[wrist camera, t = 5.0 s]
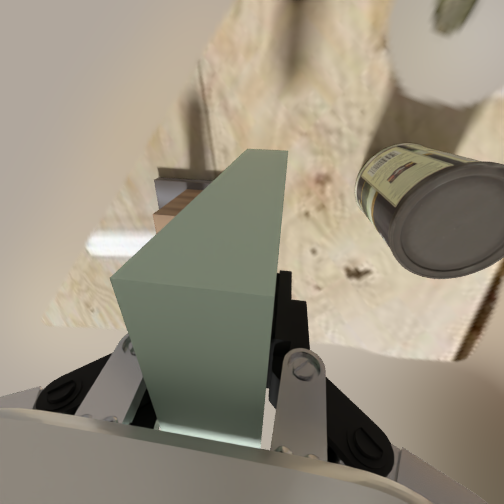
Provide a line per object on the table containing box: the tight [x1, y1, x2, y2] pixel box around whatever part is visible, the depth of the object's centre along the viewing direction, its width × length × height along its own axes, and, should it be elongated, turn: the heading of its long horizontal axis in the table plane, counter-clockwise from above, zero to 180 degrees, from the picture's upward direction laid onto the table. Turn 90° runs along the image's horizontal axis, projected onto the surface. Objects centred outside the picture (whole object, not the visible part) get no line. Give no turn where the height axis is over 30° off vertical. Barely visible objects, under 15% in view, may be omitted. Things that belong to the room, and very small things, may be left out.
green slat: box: [110, 149, 288, 449], centre depth 14 cm, size 3×10×16 cm, turn 178°
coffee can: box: [355, 143, 504, 279], centre depth 26 cm, size 10×10×14 cm
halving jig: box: [153, 178, 213, 234], centre depth 37 cm, size 24×12×12 cm, turn 178°
